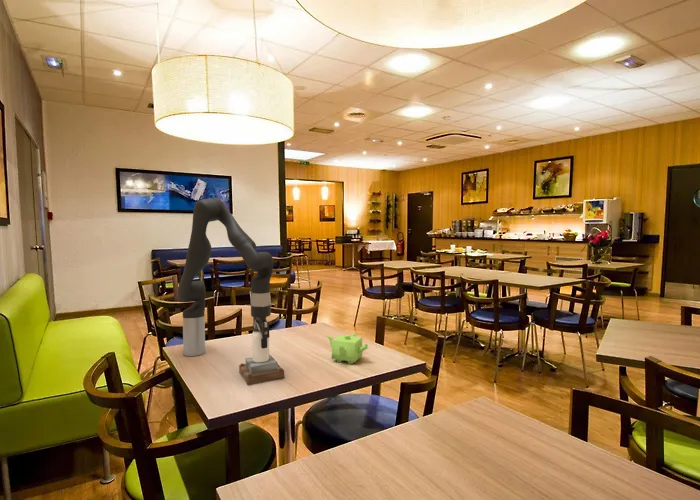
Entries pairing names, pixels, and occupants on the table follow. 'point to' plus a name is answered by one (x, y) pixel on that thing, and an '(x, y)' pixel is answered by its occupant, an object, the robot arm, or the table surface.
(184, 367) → the table surface
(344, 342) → the kettle
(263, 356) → the can
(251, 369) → the grey block on base
